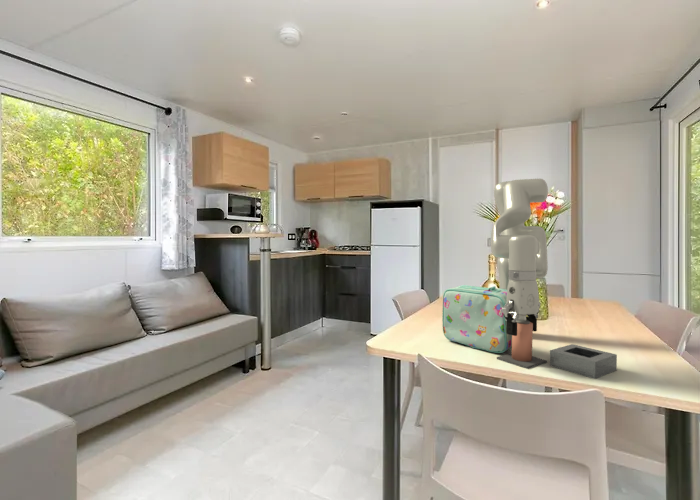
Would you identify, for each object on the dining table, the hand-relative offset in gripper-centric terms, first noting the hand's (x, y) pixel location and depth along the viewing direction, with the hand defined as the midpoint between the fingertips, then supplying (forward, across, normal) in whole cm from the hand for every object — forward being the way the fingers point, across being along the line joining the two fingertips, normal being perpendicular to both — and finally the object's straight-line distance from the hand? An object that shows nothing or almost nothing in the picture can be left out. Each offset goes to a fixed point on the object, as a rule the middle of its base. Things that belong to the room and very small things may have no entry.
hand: (521, 332), depth 110 cm
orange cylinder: (+8, 0, 0) cm, 8 cm away
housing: (+9, +9, -13) cm, 18 cm away
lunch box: (+9, +2, +17) cm, 19 cm away
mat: (+9, 0, 0) cm, 9 cm away
